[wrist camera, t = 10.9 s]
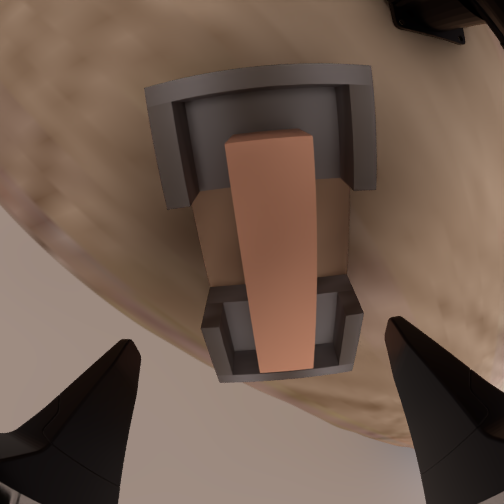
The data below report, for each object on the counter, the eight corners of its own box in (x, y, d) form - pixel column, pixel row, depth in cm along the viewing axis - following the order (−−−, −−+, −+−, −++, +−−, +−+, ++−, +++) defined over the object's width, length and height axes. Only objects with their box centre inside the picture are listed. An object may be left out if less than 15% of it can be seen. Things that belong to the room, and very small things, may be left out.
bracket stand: (339, 75, 15) (371, 65, 10) (338, 324, 24) (352, 370, 20) (176, 92, 15) (144, 88, 11) (225, 334, 25) (219, 382, 20)
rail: (232, 134, 14) (224, 143, 11) (298, 128, 14) (312, 136, 10) (259, 331, 21) (260, 373, 17) (306, 326, 21) (313, 368, 17)
